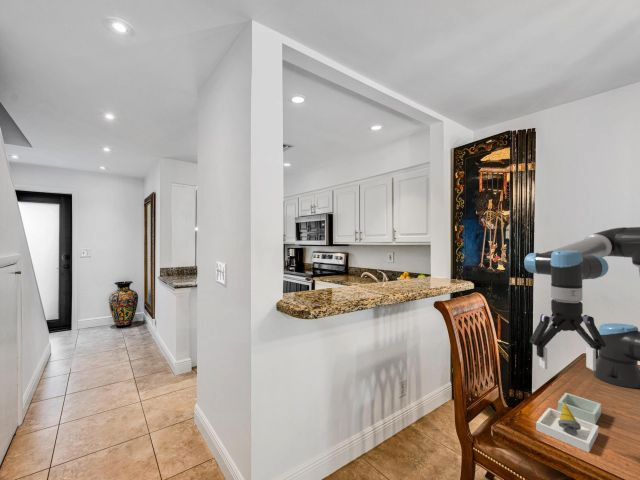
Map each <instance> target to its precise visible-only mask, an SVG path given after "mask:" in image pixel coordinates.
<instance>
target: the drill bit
mask: <svg viewBox="0 0 640 480" xmlns="http://www.w3.org/2000/svg"><path fill="white" fill-rule="evenodd" d="M561 414H562V415H561V417H560V420H559V421H558V424H559V426H560V427H562V428H564V429H565V430H566V431H568V432H569V433H570V435H572V436H576V435H578V434H577V430H580V429H581V427H580V424H579V423H578V422H577V421H576V420H575V418H574V416H573V415H572V413H571V412H570V410H569V408H568V407H567V405H566V404H565V402H564V404H563V409H562V413H561Z"/></svg>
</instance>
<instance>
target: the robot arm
mask: <svg viewBox="0 0 640 480" xmlns="http://www.w3.org/2000/svg"><path fill="white" fill-rule="evenodd" d="M605 257H617V258H618V257H620V258H631V262H632V265H634V267H635V266H636V267H637V268H638V273H639V275H638V276H640V226H633V227H614V228H610V229H607V230H602V231H598V232H596V233H592V234H588V235H587V236H585V237H584V238H583V239H582V240H580V241H576V242H574V243H571V244H570V243H569V244H567V245H564V246H561V247H558V248H555V249H552V250H549V251H545V252H541V253H540V252H530V253H528V254H527V255H526V256H525V257H524V261H523V263H524V268H525V270H526V271H527V272H529V273H531V274H537V275H546V276H548V275H549V276H550V278H551V279H550V280H551V283H550V297H551V301H550V302H551V303H550V304H551V305H550V311H551V315H545V314H541V315H540V318H539V322H538V324H537V325H536V328H535V329H534V331H533V333H532V335H531V337H530V338H529V343H531V344H532V345H534V346H535V347H536V355H537V357H539V359H538V360H539V367H541V368H543V369H544V370H548V348H547V347H546V346H547V345H548V344H549V342H551V341H552V339H553V338H554V337H555V336H556V335H557V334H558V333H561V331H564V332H567V331H571V332H576V333H577V334H578V335H579V336H580V337H581V338H582V340H584V342H586V344H587V345H586V346H585V347H586V348H585V352H586V353H585V359H586V360H585V364H586V365H585V366H586V367H585V368H588V369H589V370H590V371H592V374H593V376H594V377H595V376H596V378H597V379H599V380H600V381H603V382H606V383H609V384H610V385H615V386H618V387H623V388H629V389H630V388H631V389H638V388H639V389H640V367H639V364H638V363H639V362H640V330H639V328H638V326H636V325H633V324H627V323H613V322H612V323H611V322H610V323H603V324H600V325H599V327H597V326H596V324H595V319H594V317H593V316H590V315H588V314H584V315H583V313H584V312H583V310H584V309H583V302H581V301H583V280H595V279H598V278H601V277H604V276H605V275H606V274H607V273H608V271H609V264H608V261H607V260H606V259H605ZM582 315H583V316H582ZM551 322H552V323H551ZM582 323H584V325H585V327H586V328H587V330H588V332H589V334H588V333H587V331H586V330H585V328H584V327H583V326H582ZM590 335H591V336H590Z"/></svg>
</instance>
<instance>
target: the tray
mask: <svg viewBox="0 0 640 480" xmlns="http://www.w3.org/2000/svg"><path fill="white" fill-rule="evenodd" d="M561 413H562V412H559V411H558V409H557V410H556V409H553V408H551V407H548V408H546V410H545V411H544V412H543V414H542V415H541V416H540V417H539V419H538V420H537V421H536V423H535V426H536V427H535V431H538V432H540V433H542V434H545V435H547V436H549V437H552V438H553V439H556V440H558V441H560V442H563V443H566V444H567V445H570V446H572V447H574V448H577V449H579V450H582V451H585V452H587V453H590V452H591V449H592V448H593V445H594V443H595V442H596V439H597V437H598V435H599V425H597V424H596V425H595V424H592V423H589V422H587V421H584V420H581V419H578V418H576V417H574V418H575V420H576V421H577V422H578V423H579V424H580V427H581V429H580V430H577V434H578V435H576V436H572V435H570V433H569V432H568V431H566V430H565V429H564V428H562V427H560V426H559V424H558V421H559V420H560V417H561V415H562V414H561Z"/></svg>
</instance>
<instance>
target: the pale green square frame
mask: <svg viewBox="0 0 640 480" xmlns="http://www.w3.org/2000/svg"><path fill="white" fill-rule="evenodd" d="M564 402H565V404H566V405H567V407H568V408H569V410H570V412H571V413H572V415H573V416H574V417H576V418H578V419H581V420H584V421H587V422H589V423H592V424H595V425H597V422H598V421H599V419H600V417H601V415H602V403H599V402H596V401H593V400H590V399H586V398H584V397H581V396H578V395H574V394H572V393H569V392H564V394H563V395H562V396H561V398H559V400H558V401H557V411H559V412H562V409H563V404H564Z"/></svg>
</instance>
